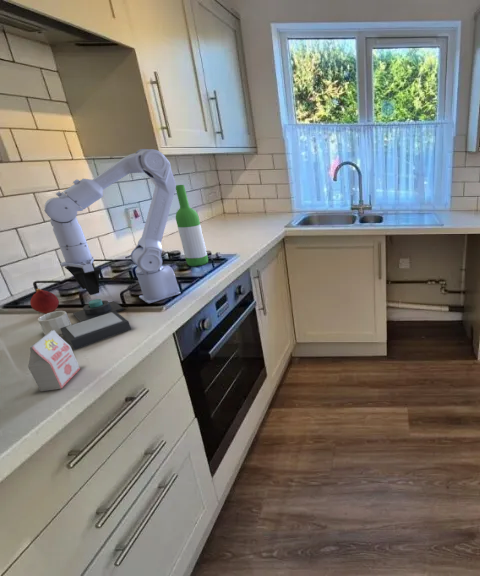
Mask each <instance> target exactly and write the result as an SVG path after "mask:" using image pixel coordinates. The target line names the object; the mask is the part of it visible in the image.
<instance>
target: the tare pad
mask: <svg viewBox="0 0 480 576" xmlns="http://www.w3.org/2000/svg"><path fill="white" fill-rule="evenodd" d="M102 303H103V305H101V306H98V307H94V308H90V306H89V303H87V304H85V305H84V306H83V307H82V309H83V310H79V311H76V312H73V314H72V315H73V316H74V317H75V318H76V319H77V320H78V321H79V322H82V321H85V320H88V319H91V318H94V317H98V316H101V315H104V314H107V313H110V312H113V311H116V312H117V313H119V312H122V311H124V310H125V309H124V307H122V305H120V304H119V303H117V302H116V301H114V300H113V301H108V300H102Z"/></svg>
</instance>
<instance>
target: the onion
mask: <svg viewBox="0 0 480 576" xmlns="http://www.w3.org/2000/svg"><path fill="white" fill-rule="evenodd" d="M35 291H36V292H35V293H33V295H32V296H31V298H30V301H29V303H30V306H31V308H32V310H34V311H35V312H37V313H38V312H39V313H42V314H44V315H45V314H47V313H51V312H55V311H56V309H57V308H58V307H59V304H60V301H59V298H58V297H57V296H56V295H55V294H54V293H53V292H51V291H48V290H45V289H42V288H41V289H40V288H36V289H35Z"/></svg>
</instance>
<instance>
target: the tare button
mask: <svg viewBox="0 0 480 576" xmlns="http://www.w3.org/2000/svg"><path fill="white" fill-rule="evenodd" d="M102 301H103V300H102V299H101V298H96V299H95V298H94V299H91V300H89V301H88V302H87V304H89V306H90V308H94V307H98V306H101V305H103V303H102Z"/></svg>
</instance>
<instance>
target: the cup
mask: <svg viewBox="0 0 480 576" xmlns="http://www.w3.org/2000/svg"><path fill="white" fill-rule="evenodd" d="M36 320H37V322H38V324H39V326H40V328H41V331H42V333H43V335H44V336H45V335H46V334H48V333H49V332H50V331H53V330H55V332H56V333H57V334H58V335H59V336H60V335H63V334H62V332H61V329H60V328H63V327H66V326H69V325H72V322H71V320H70V318H69V316H68V313H67V311H66V310H54V311H53V312H51V313H47V314H45V313H44V314H42V315H40V316H39V317H38V318H37V319H36Z"/></svg>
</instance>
